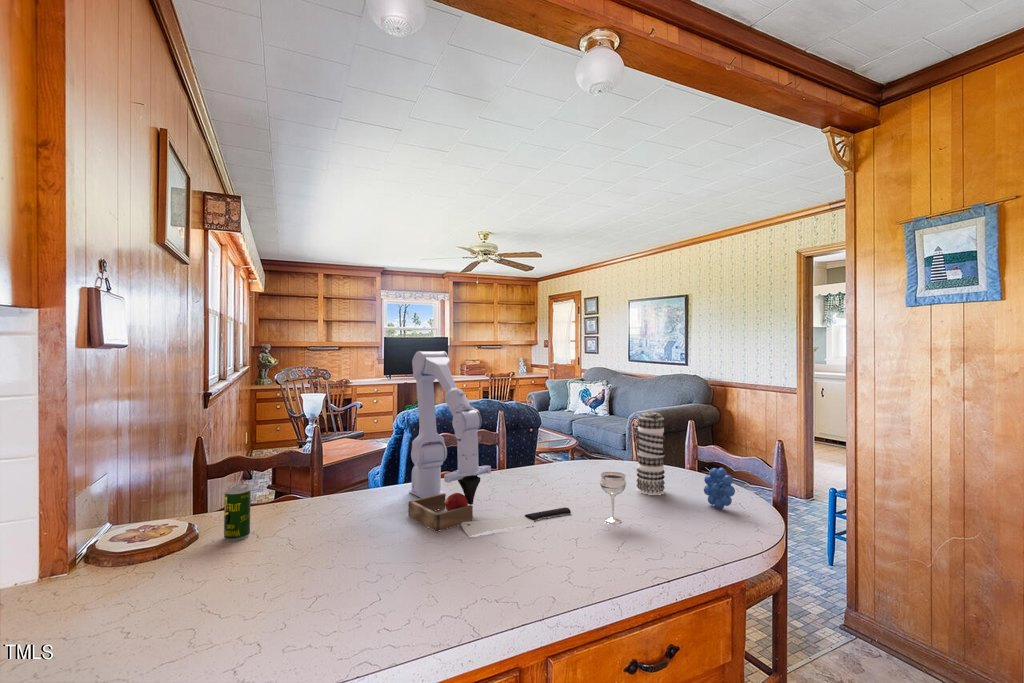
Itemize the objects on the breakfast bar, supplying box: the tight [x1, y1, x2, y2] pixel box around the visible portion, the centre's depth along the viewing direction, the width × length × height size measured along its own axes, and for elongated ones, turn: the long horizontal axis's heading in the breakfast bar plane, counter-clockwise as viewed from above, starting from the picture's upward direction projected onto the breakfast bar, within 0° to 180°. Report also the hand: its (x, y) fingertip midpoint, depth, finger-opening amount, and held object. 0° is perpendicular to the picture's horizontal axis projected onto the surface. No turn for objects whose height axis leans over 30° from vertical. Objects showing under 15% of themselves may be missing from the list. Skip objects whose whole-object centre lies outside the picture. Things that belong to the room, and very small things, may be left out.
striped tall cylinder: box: [635, 411, 667, 496], centre depth 151 cm, size 9×9×25 cm
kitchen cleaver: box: [460, 507, 572, 538], centre depth 122 cm, size 31×2×10 cm
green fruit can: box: [223, 483, 252, 542], centre depth 112 cm, size 5×5×12 cm
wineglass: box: [599, 471, 627, 523], centre depth 125 cm, size 7×7×12 cm
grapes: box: [703, 467, 736, 510], centre depth 135 cm, size 12×7×12 cm, turn 16°
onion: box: [444, 492, 469, 511], centre depth 127 cm, size 6×6×8 cm
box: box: [407, 493, 474, 532], centre depth 125 cm, size 14×11×4 cm
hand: (469, 504), depth 130 cm, fingers closed, pressing on onion
